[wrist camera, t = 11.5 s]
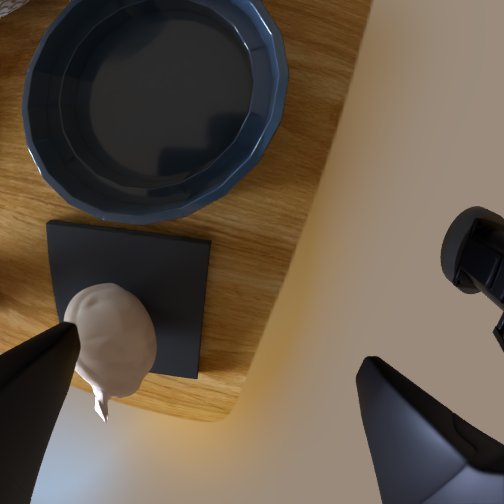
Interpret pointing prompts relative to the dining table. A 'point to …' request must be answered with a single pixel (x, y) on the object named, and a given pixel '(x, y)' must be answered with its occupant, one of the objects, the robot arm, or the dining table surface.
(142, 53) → the glazed bowl
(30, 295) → the dining table surface
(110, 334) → the garlic bulb
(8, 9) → the planter
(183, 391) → the dining table surface
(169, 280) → the coaster
